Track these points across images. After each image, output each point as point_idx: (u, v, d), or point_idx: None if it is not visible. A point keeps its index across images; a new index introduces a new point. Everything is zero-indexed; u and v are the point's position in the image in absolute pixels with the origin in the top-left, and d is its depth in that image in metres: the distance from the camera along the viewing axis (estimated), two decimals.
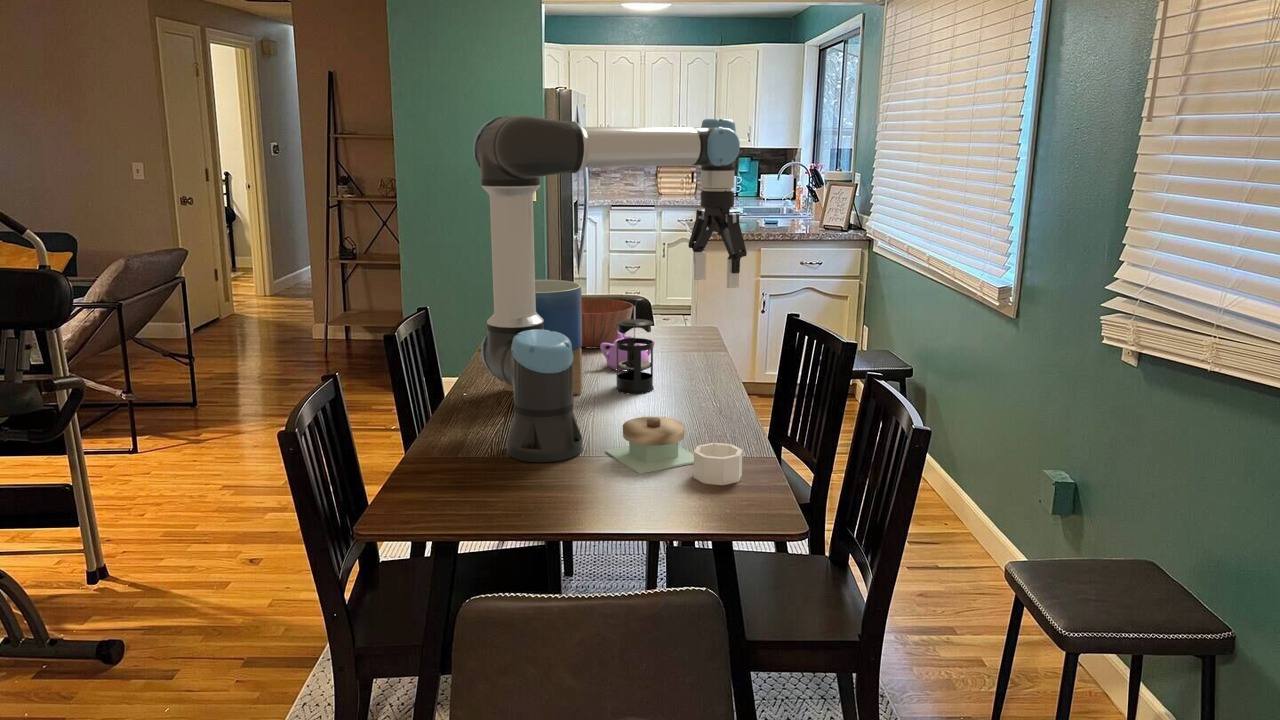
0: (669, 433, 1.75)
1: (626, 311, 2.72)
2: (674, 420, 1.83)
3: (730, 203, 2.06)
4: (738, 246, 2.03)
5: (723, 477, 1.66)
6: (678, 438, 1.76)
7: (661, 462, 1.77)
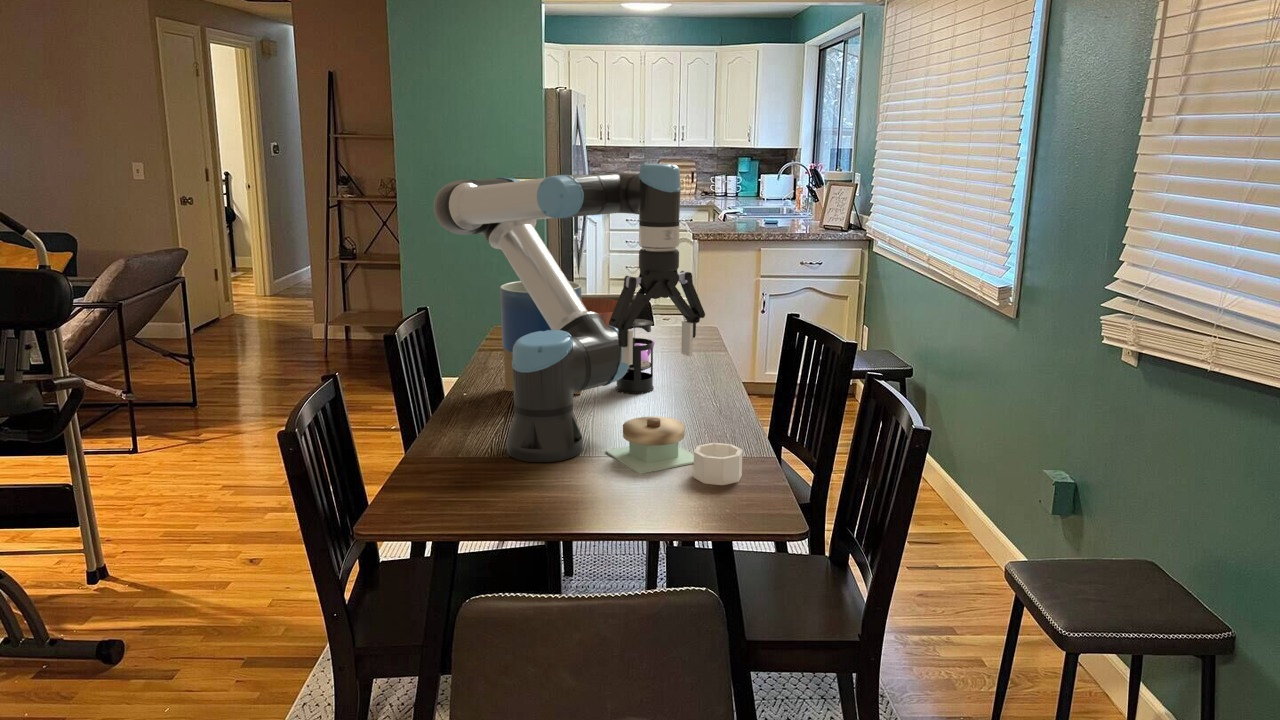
0: (669, 433, 1.75)
1: None
2: (674, 420, 1.83)
3: (646, 266, 1.70)
4: (613, 314, 1.71)
5: (723, 477, 1.66)
6: (678, 438, 1.76)
7: (661, 462, 1.77)
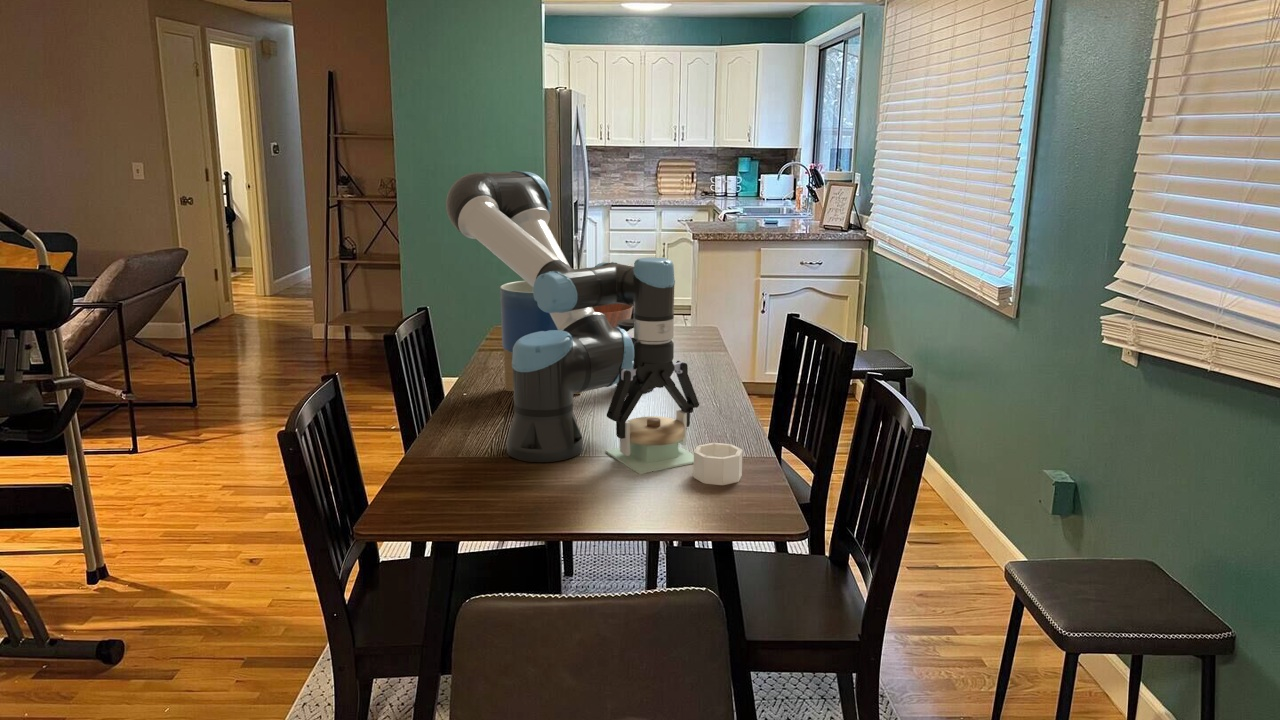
0: (669, 433, 1.75)
1: (626, 311, 2.72)
2: (674, 420, 1.83)
3: (641, 358, 1.74)
4: (610, 407, 1.75)
5: (723, 477, 1.66)
6: (678, 438, 1.76)
7: (661, 462, 1.77)
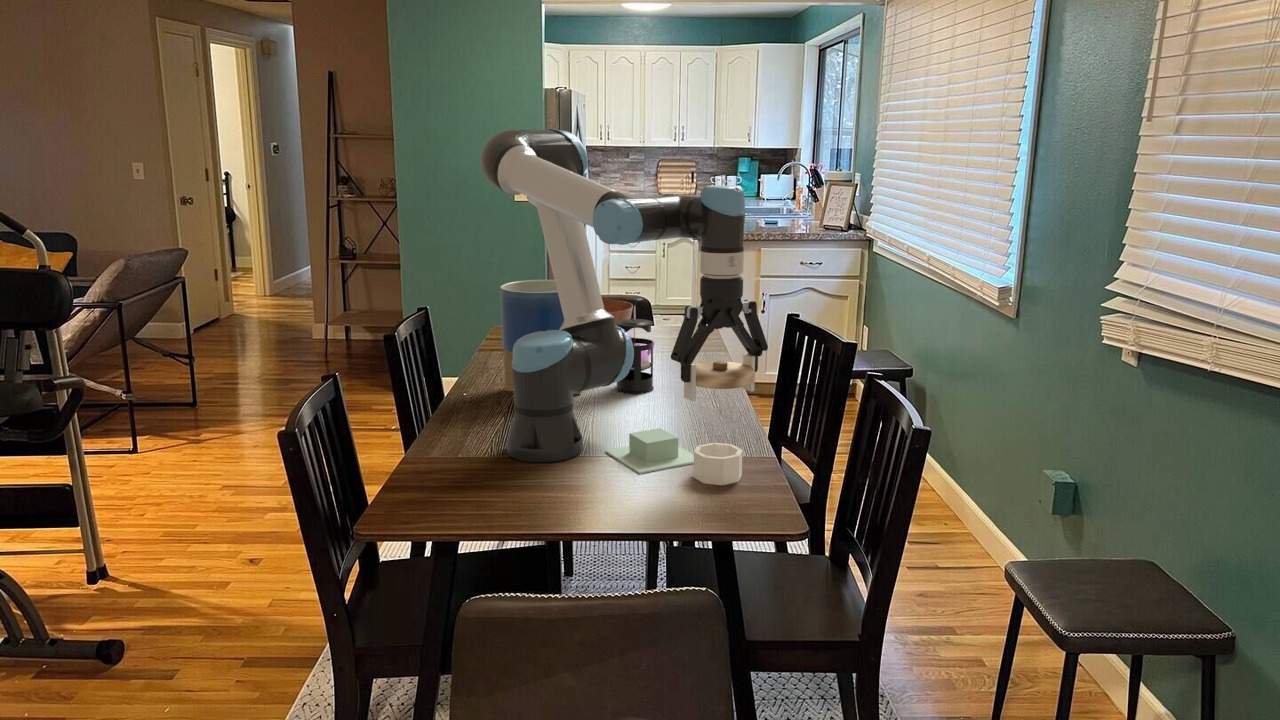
0: (739, 376, 1.61)
1: (626, 311, 2.72)
2: (741, 364, 1.69)
3: (708, 294, 1.60)
4: (675, 348, 1.61)
5: (723, 477, 1.66)
6: (748, 381, 1.63)
7: (661, 462, 1.77)
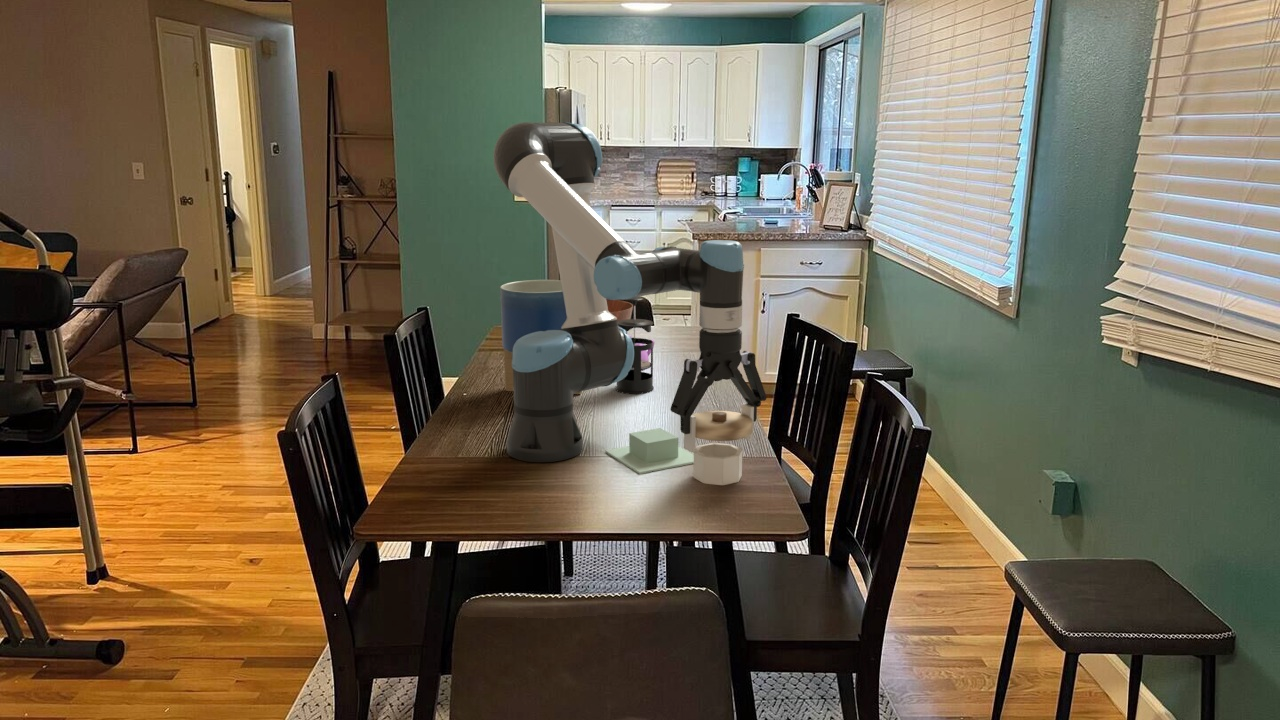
0: (738, 428, 1.64)
1: (626, 311, 2.72)
2: (740, 414, 1.71)
3: (707, 348, 1.62)
4: (675, 400, 1.63)
5: (723, 477, 1.66)
6: (747, 433, 1.65)
7: (661, 462, 1.77)
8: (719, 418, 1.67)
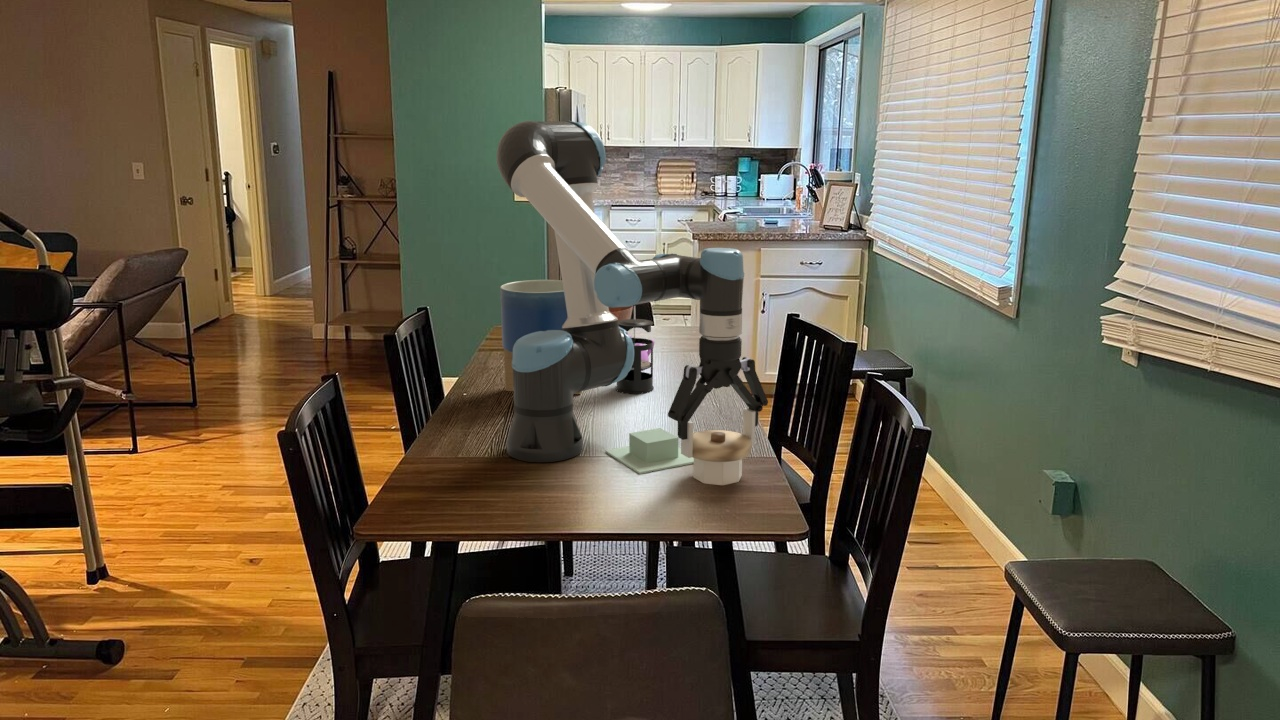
0: (736, 449, 1.65)
1: (626, 311, 2.72)
2: (738, 434, 1.72)
3: (707, 355, 1.62)
4: (673, 406, 1.63)
5: (723, 477, 1.66)
6: (745, 454, 1.66)
7: (661, 462, 1.77)
8: (718, 438, 1.68)
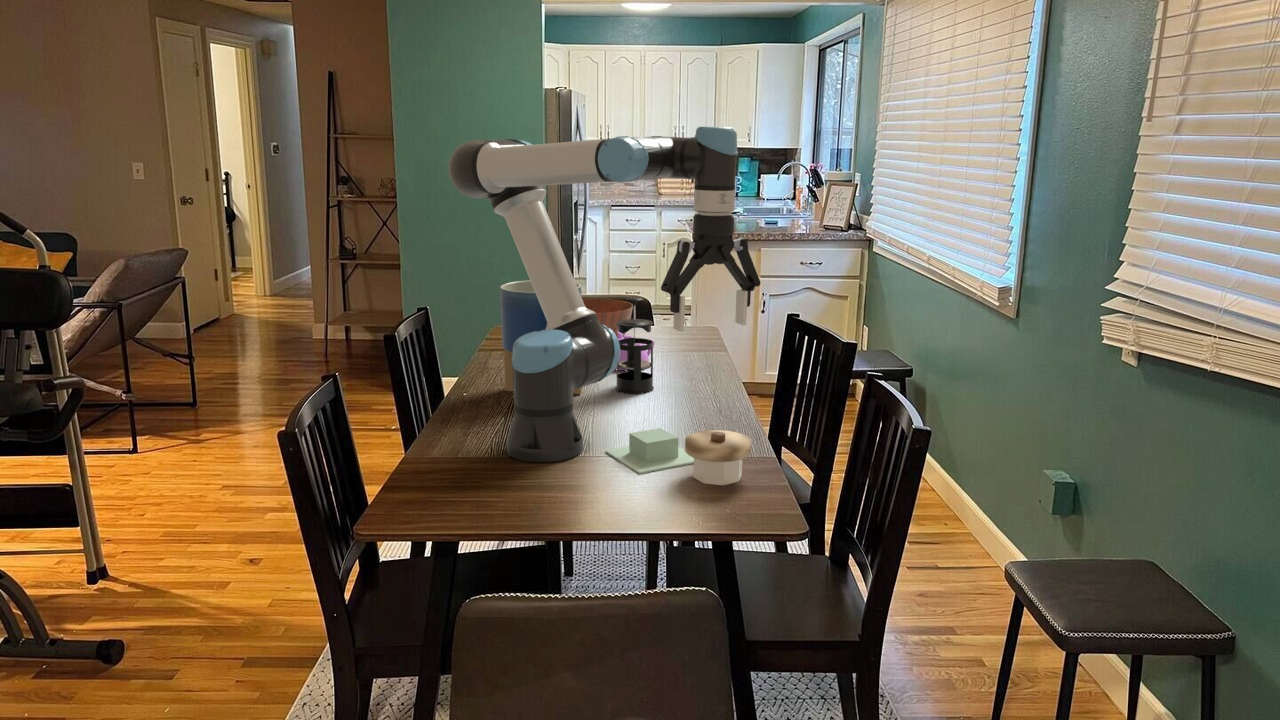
0: (736, 449, 1.65)
1: (626, 311, 2.72)
2: (738, 434, 1.72)
3: (700, 230, 1.68)
4: (666, 279, 1.69)
5: (723, 477, 1.66)
6: (745, 454, 1.66)
7: (661, 462, 1.77)
8: (718, 438, 1.68)
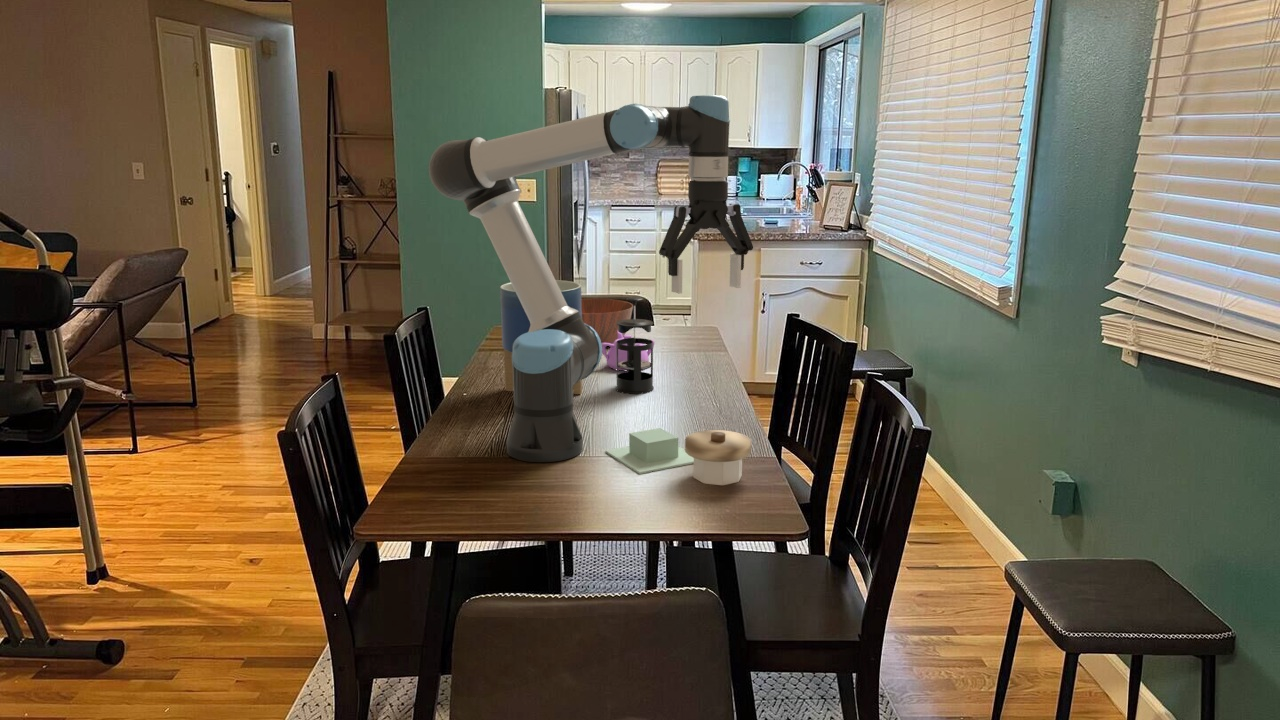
0: (736, 449, 1.65)
1: (626, 311, 2.72)
2: (738, 434, 1.72)
3: (696, 196, 1.74)
4: (664, 243, 1.75)
5: (723, 477, 1.66)
6: (745, 454, 1.66)
7: (661, 462, 1.77)
8: (718, 438, 1.68)
